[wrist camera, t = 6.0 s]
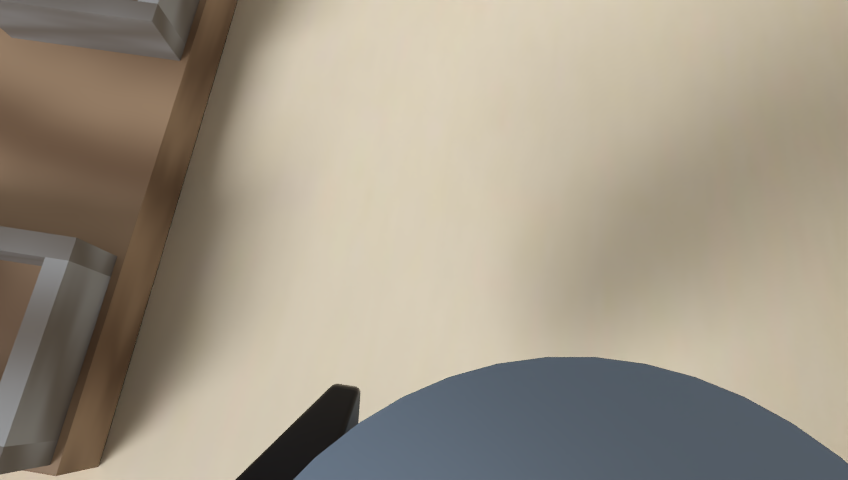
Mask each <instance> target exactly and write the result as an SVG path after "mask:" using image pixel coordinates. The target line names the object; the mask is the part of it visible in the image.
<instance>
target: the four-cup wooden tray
mask: <svg viewBox="0 0 848 480" xmlns="http://www.w3.org/2000/svg"><path fill="white" fill-rule="evenodd" d="M236 4H237V0H0V474H5V473H10V472H15V471H21V470H24V471H30V472H36V473H42V474H47V475H53V476H58V475H62V474H67V473H71V472H76V471H81V470H85V469H90V468H94V467H98V466H99V463H100V460H101V456H102V453H103V450H104V446H105V443H106V440H107V436H108V433H109V430H110V426H111V423H112V419H113V416H114V413H115V409H116V406H117V403H118V399H119V396H120V393H121V389H122V386H123V383H124V379H125V376H126V373H127V369H128V366H129V362H130V359H131V356H132V352H133V349H134V346H135V342H136V339H137V336H138V332H139V329H140V326H141V322H142V319H143V316H144V312H145V309H146V305H147V302H148V299H149V295H150V292H151V289H152V285H153V282H154V279H155V275H156V272H157V269H158V265H159V262H160V259H161V255H162V252H163V248H164V245H165V242H166V238H167V235H168V232H169V228H170V225H171V222H172V218H173V215H174V212H175V208H176V205H177V202H178V198H179V195H180V191H181V188H182V185H183V181H184V178H185V175H186V171H187V168H188V165H189V161H190V158H191V155H192V151H193V148H194V145H195V141H196V138H197V135H198V131H199V128H200V124H201V121H202V118H203V114H204V111H205V108H206V104H207V101H208V98H209V94H210V91H211V88H212V84H213V81H214V78H215V74H216V71H217V67H218V64H219V61H220V57H221V54H222V51H223V47H224V44H225V41H226V37H227V34H228V31H229V27H230V24H231V21H232V17H233V14H234V10H235V7H236Z"/></svg>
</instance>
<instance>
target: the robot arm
mask: <svg viewBox="0 0 848 480" xmlns="http://www.w3.org/2000/svg"><path fill="white" fill-rule="evenodd" d="M359 404H360V390H359V388H357V387H355V386H348V385H342V384H334V385H332V386H331V387H330V388H329V389H328V390H327V391H326V392H325V393H324V394H323V395H322V396H321V397H320V398H319V399H318V400H317V401H316V402H315V403H314V404H313V405H312V406H311V407H310V408H309V409H307V410H306V411H305V412H304V413H303V414H302V415H301V416H300V417H299V418H298V419H297V420H296V421H295V422H294V423H293V424H292V425H291V426H290V427H289V428H288V429H287V430H286V431H285V432H284V433H283V434H282V435H281V436H280V437H279V438H278V439H277V440H276V441H275V442H274V443H273V444H272V445H271V446H270V447H269V448H268V449H266V450H265V451H264V452H263V453H262V454H261V455H260V456H259V457H258V458H257V459H256V460H255V461H254V462H253V463H252V464H251V465H250V466H249V467H248V468H247V469H246V470H245V471H244V472H243V473H242V474H241V475H240V476H239V477H238V478H237V479H236V480H293V479H294V478H295V477H296V476H297V475H298V474H299V473H300V472H301V471H302V470H303V469H304V468H305V467H306V466H307V465H308V464H309V463H310V462H311V461H312V460H313V459H314V458H315V457H316V456H318V455H319V454H320V453H322V452H323V451H324V450H325V449H327V448H328V447H329V446H330V445H332V444H333V443H334V442H335V441H337V440H338V439H339V438H341V437H342V436H343V435H344V434H346V433H347V432H348V431H349V430H351V429H352V428H353V427H354V426H356V425H357V424H358V418H359Z"/></svg>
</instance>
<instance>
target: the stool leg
mask: <svg viewBox="0 0 848 480" xmlns="http://www.w3.org/2000/svg"><path fill="white" fill-rule="evenodd" d="M293 480H848V464H847V463H846V462H845V461H844V460H843V459H842V458H841V457H839V456H838V455H836V454H835V453H834V452H832V451H831V450H829V449H828V448H826V447H825V446H824V445H822V444H821V443H819V442H818V441H817V440H815V439H814V438H812V437H811V436H809V435H808V434H807V433H805V432H804V431H802V430H801V429H800V428H798V427H797V426H795V425H794V424H792V423H791V422H789V421H787V420H785V419H783V418H781V417H780V416H778V415H776V414H774V413H772V412H771V411H769V410H767V409H765V408H763V407H761V406H760V405H758V404H756V403H754V402H752V401H750V400H749V399H747V398H745V397H743V396H740V395H738V394H735V393H733V392H730V391H728V390H725V389H723V388H720V387H718V386H716V385H713V384H711V383H708V382H706V381H703V380H701V379H698V378H696V377H692V376H689V375H685V374H681V373H677V372H674V371H670V370H666V369H662V368H659V367H655V366H651V365H647V364H642V363H634V362H627V361H619V360H612V359H604V358H597V357H544V358H537V359H530V360H522V361H515V362H508V363H500V364H495V365H491V366H488V367H484V368H480V369H477V370H473V371H470V372H466V373H462V374H459V375H455V376H452V377H448V378H446V379H444V380H441V381H439V382H437V383H434V384H432V385H430V386H427V387H425V388H423V389H420V390H418V391H416V392H413V393H411V394H409V395H406V396H404V397H402V398H400V399H399V400H397V401H395V402H394V403H392V404H390V405H389V406H387V407H385V408H384V409H382V410H380V411H379V412H377V413H375V414H374V415H372V416H370V417H369V418H367V419H365V420H364V421H362V422H360V423H358V424H357V425H356V426H354V427H353V428H352V429H351V430H349V431H348V432H347V433H346V434H344V435H343V436H342V437H341V438H339V439H338V440H337V441H335V442H334V443H333V444H332V445H330V446H329V447H328V448H327V449H325V450H324V451H323V452H322V453H320V454H319V455H318V456H316V457H315V458H314V459H313V460H312V461H311V462H310V463H309V464H308V465H307V466H306V467H305V468H304V469H303V470H302V471H301V472H300V473H299V474H298V475H297V476H296V477H295V478H294V479H293Z"/></svg>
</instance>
